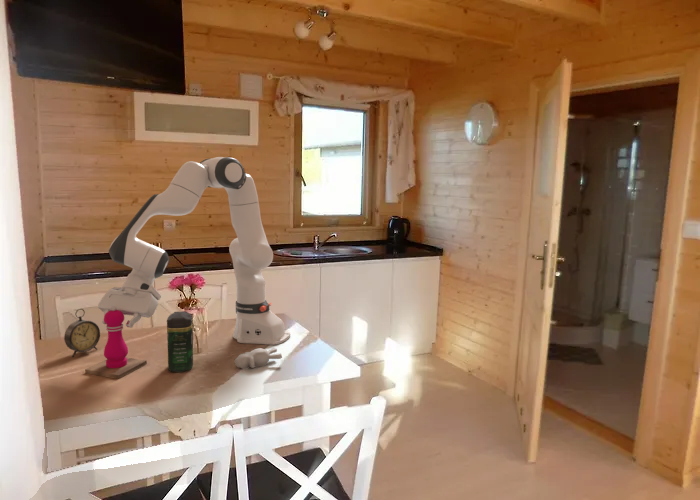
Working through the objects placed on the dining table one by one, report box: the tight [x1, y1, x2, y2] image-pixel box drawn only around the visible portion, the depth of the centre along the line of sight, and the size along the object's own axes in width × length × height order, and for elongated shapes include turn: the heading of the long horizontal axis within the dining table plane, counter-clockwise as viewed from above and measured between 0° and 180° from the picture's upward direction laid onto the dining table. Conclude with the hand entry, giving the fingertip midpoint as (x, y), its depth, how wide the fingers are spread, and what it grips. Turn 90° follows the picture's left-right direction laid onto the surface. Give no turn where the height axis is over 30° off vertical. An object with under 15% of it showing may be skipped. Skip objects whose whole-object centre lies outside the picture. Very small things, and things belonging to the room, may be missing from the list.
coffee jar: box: [166, 311, 194, 373], centre depth 167 cm, size 10×8×19 cm
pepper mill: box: [103, 306, 129, 368], centre depth 165 cm, size 7×7×20 cm
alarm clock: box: [63, 308, 101, 358], centre depth 178 cm, size 11×5×16 cm, turn 148°
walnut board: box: [84, 356, 148, 380], centre depth 167 cm, size 13×13×1 cm
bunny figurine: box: [234, 347, 283, 370], centre depth 172 cm, size 10×5×15 cm
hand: (116, 325), depth 165 cm, fingers open, 8 cm apart
